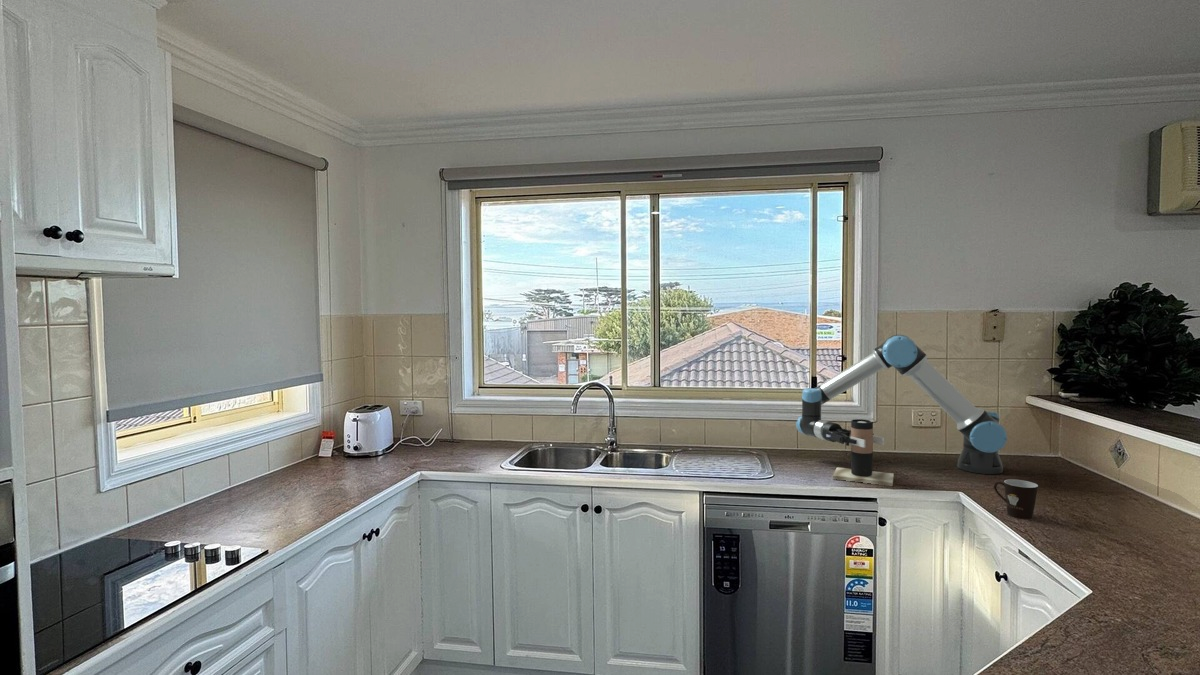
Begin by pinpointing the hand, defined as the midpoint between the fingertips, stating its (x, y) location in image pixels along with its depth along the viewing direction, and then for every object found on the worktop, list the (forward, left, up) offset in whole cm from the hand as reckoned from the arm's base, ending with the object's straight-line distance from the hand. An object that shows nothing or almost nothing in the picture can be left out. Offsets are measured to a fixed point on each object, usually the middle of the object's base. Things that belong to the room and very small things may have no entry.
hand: (874, 442), depth 224 cm
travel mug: (+4, -3, -13) cm, 14 cm away
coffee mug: (-41, +19, -15) cm, 48 cm away
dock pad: (+4, -3, -15) cm, 15 cm away
